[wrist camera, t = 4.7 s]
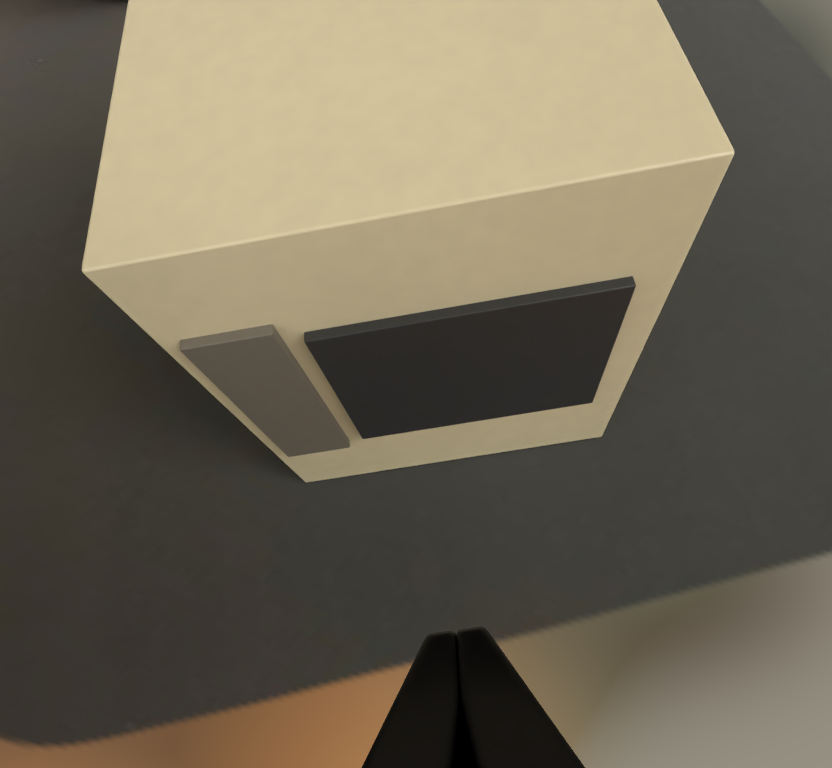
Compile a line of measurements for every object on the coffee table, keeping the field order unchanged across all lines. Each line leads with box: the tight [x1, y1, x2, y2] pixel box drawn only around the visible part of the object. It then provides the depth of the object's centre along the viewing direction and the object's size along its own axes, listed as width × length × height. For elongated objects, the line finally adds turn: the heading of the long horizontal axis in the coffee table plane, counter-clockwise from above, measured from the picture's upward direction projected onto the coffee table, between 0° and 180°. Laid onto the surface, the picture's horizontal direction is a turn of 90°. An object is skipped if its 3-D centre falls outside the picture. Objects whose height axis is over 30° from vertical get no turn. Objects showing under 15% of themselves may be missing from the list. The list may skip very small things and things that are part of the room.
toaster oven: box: [82, 0, 734, 482], centre depth 18 cm, size 12×11×13 cm
